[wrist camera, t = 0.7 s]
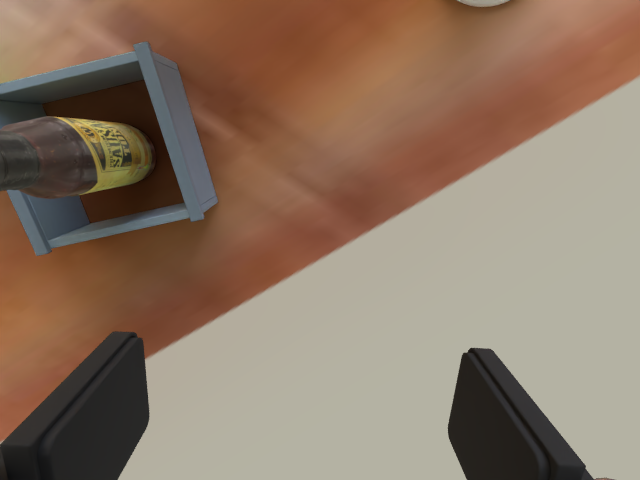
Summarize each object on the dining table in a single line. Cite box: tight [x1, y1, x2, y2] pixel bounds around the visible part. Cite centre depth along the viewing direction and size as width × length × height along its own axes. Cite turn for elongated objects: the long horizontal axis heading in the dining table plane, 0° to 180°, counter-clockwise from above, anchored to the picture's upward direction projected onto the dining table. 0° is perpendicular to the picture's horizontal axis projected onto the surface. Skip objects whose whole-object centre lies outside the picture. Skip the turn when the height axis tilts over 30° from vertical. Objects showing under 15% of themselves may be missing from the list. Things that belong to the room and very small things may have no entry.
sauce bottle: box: [0, 116, 156, 199], centre depth 30 cm, size 6×6×20 cm
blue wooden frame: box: [0, 41, 218, 256], centre depth 36 cm, size 15×16×8 cm
